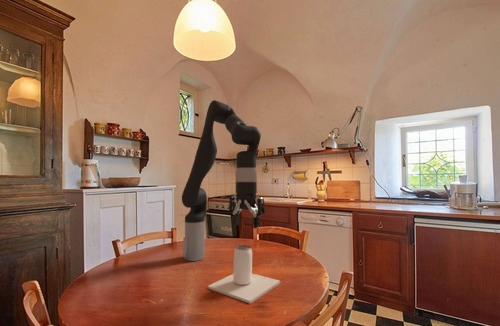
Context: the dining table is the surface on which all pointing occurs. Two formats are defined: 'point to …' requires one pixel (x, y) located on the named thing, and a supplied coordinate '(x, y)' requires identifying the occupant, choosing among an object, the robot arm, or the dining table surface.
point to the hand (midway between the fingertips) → (246, 226)
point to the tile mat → (245, 287)
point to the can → (242, 265)
